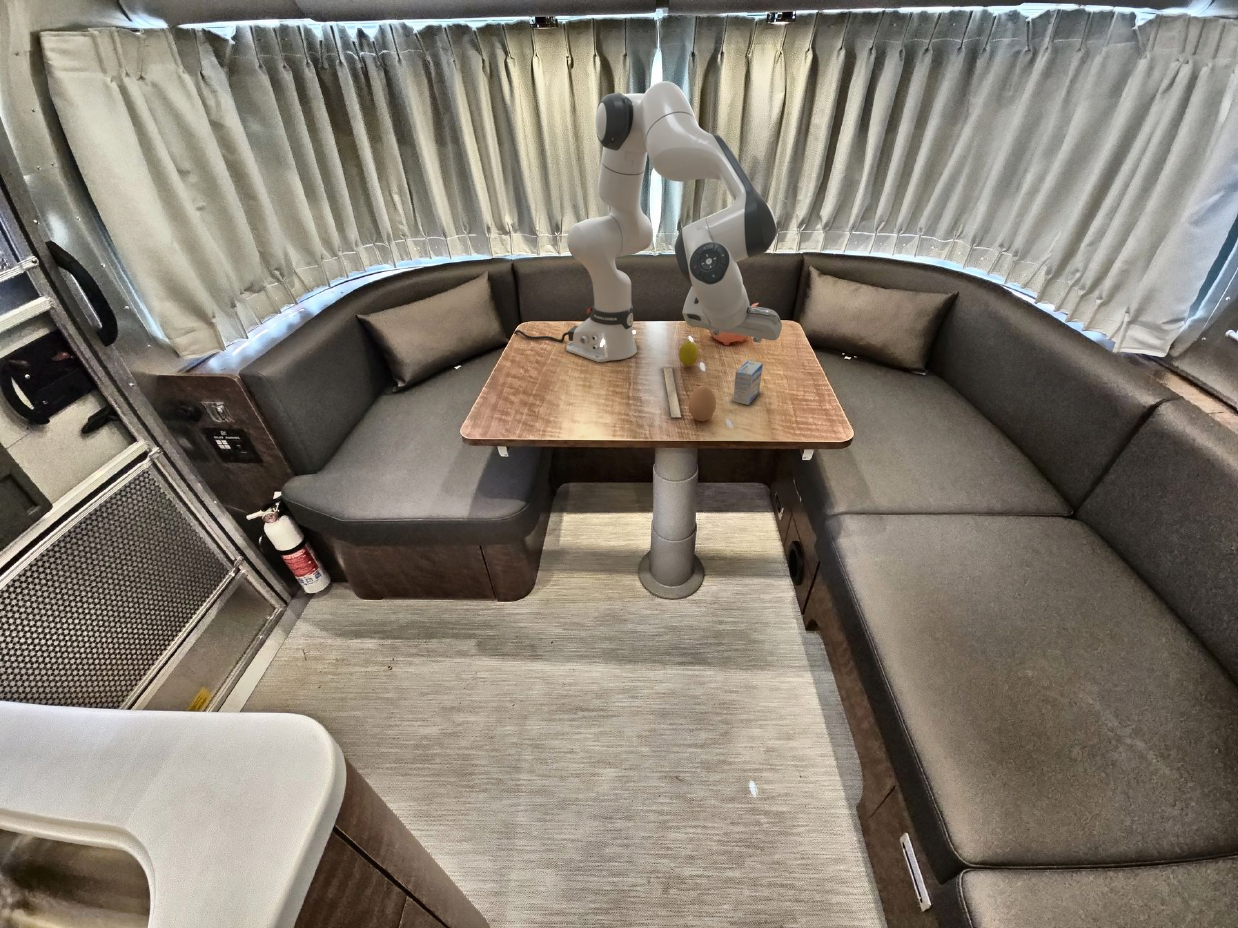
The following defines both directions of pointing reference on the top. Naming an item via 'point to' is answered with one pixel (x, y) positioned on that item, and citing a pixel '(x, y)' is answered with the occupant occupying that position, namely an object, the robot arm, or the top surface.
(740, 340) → the teapot
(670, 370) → the strip
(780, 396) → the top surface
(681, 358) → the lemon
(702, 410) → the egg
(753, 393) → the medicine box
